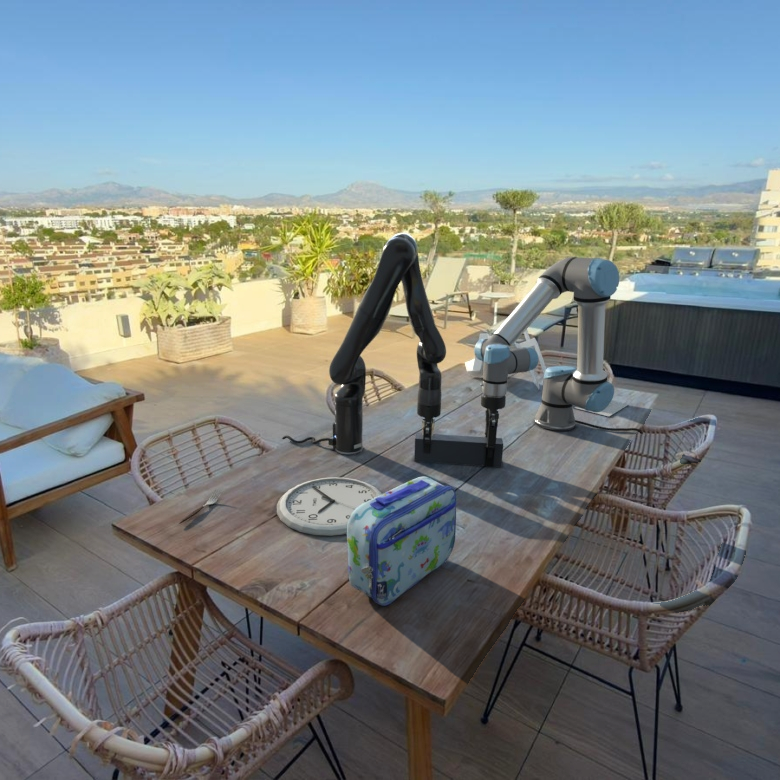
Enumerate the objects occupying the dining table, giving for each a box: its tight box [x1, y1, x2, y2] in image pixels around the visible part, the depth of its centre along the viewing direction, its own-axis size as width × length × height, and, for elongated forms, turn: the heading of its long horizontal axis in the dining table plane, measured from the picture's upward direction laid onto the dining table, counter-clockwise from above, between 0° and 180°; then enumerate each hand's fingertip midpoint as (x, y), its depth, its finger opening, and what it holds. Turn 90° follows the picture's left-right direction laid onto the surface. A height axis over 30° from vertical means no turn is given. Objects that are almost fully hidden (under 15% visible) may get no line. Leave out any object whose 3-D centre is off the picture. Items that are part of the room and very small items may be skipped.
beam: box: [413, 432, 504, 468], centre depth 170 cm, size 28×5×8 cm, turn 83°
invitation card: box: [573, 400, 629, 418], centre depth 226 cm, size 21×1×15 cm
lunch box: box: [346, 475, 457, 607], centre depth 111 cm, size 26×11×21 cm, turn 134°
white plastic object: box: [464, 328, 547, 390], centre depth 260 cm, size 37×45×31 cm
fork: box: [178, 489, 223, 525], centre depth 139 cm, size 3×16×2 cm, turn 160°
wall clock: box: [276, 476, 384, 537], centre depth 142 cm, size 30×2×30 cm
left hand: (427, 449), depth 171 cm, fingers closed on beam, 5 cm apart
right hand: (488, 462), depth 170 cm, fingers closed on beam, 5 cm apart
